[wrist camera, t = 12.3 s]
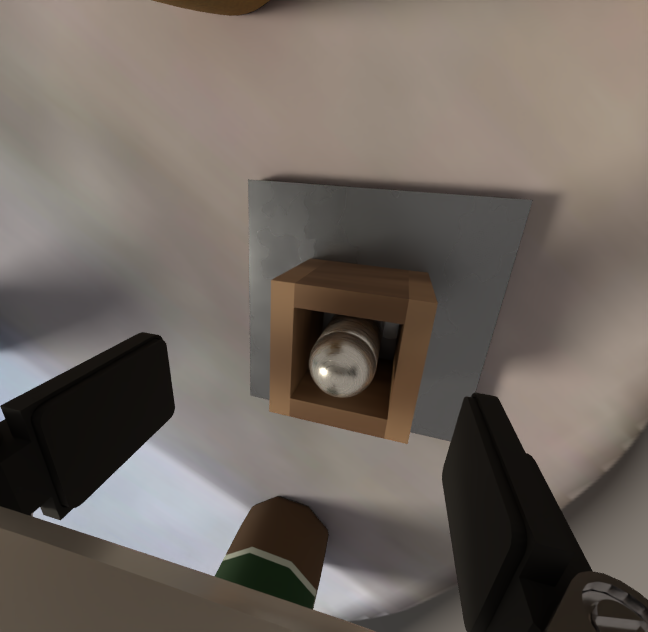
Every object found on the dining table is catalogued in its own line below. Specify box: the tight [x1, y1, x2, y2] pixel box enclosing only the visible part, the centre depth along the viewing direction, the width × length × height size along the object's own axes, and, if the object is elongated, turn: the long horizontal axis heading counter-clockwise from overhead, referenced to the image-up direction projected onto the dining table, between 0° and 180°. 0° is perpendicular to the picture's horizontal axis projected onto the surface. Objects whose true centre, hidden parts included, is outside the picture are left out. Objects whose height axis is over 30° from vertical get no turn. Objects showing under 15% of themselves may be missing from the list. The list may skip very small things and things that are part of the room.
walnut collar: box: [269, 258, 438, 444], centre depth 15 cm, size 6×6×6 cm
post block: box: [248, 179, 533, 441], centre depth 15 cm, size 14×14×8 cm
